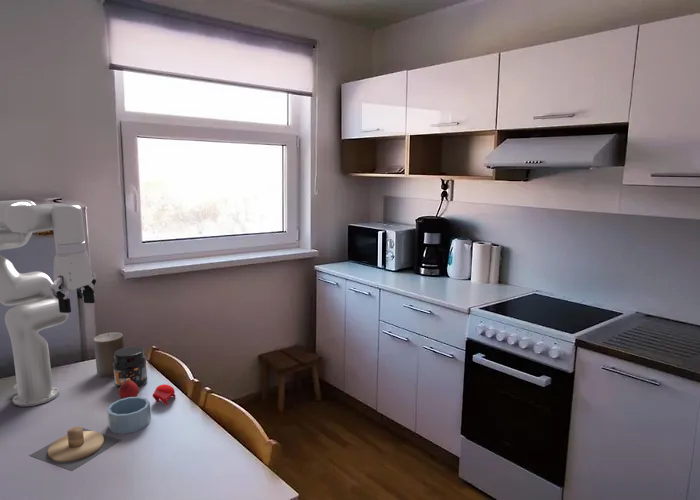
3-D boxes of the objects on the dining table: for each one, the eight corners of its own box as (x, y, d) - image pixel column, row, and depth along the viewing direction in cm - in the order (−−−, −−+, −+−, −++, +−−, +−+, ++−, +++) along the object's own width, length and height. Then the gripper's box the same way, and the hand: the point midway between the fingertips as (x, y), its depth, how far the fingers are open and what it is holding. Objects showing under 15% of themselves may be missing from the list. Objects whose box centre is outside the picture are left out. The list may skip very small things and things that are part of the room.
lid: (36, 454, 128) (34, 437, 128) (81, 430, 140) (79, 413, 139) (71, 467, 123) (69, 448, 123) (114, 440, 135) (113, 423, 134)
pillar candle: (132, 370, 182) (128, 331, 179) (108, 380, 173) (104, 339, 171) (114, 365, 186) (111, 327, 184) (90, 374, 178) (86, 335, 175)
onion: (132, 407, 154) (130, 383, 153) (115, 405, 155) (113, 382, 154) (143, 398, 160) (141, 375, 158) (127, 397, 161) (125, 374, 160)
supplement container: (107, 389, 167) (104, 355, 164) (127, 376, 177) (125, 344, 175) (135, 392, 164) (132, 358, 162) (154, 379, 174) (151, 346, 172)
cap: (162, 400, 152) (176, 385, 156) (148, 391, 154) (162, 376, 158) (168, 411, 158) (181, 396, 162) (154, 402, 160) (167, 387, 163)
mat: (29, 457, 128) (29, 455, 128) (80, 429, 142) (80, 427, 142) (72, 473, 122) (72, 470, 122) (121, 441, 136) (121, 439, 135)
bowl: (100, 429, 141) (98, 410, 140) (131, 412, 151) (129, 394, 150) (129, 438, 137) (127, 418, 136) (158, 419, 147) (157, 401, 146)
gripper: (80, 243, 148) (86, 299, 151) (35, 254, 131) (43, 316, 134) (103, 244, 147) (109, 299, 150) (60, 254, 130) (67, 317, 133)
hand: (77, 307), depth 142 cm, fingers open, 9 cm apart
